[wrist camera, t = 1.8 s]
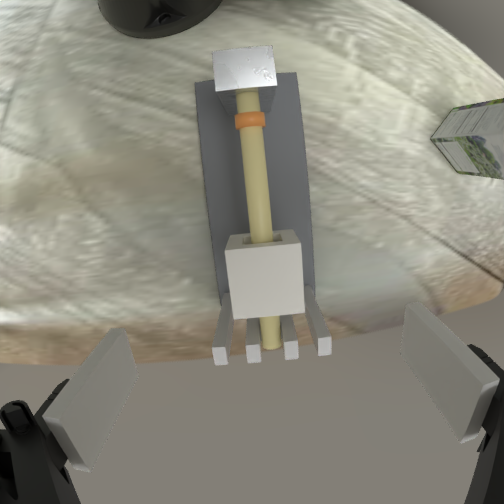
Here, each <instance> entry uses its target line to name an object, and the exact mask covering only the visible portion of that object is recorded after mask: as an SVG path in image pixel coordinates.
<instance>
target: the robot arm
mask: <svg viewBox="0 0 504 504" xmlns="http://www.w3.org/2000/svg"><path fill="white" fill-rule="evenodd" d="M221 2H222V0H98V5H99V8H100V11H101V13H102V15H103V16H104V18H105V19H106V20H107V21H108V22H109V23H110V24H111V25H112V26H113V27H115V28H116V29H117V30H118V31H120V32H122V33H124V34H126V35H129V36H133V37H138V38H158V37H164V36H169V35H172V34H176V33H179V32H181V31H184V30H186V29H188V28H190V27H192V26H194V25H196V24H197V23H199V22H201V21H202V20H203V19H205V18H206V17H207V16H209V15H210V14H211V13H212V12H213V11H214V10H215V9H216V8H217V7H218V6H219V4H220V3H221ZM400 354H401V355H402V357H403V358H404V360H405V361H406V363H407V364H408V365H409V367H410V368H411V370H412V371H413V373H414V374H415V375H416V377H417V379H418V380H419V381H420V383H421V384H422V386H423V387H424V389H425V390H426V392H427V393H428V395H429V396H430V398H431V399H432V401H433V402H434V404H435V405H436V407H437V408H438V410H439V411H440V413H441V414H442V416H443V417H444V419H445V420H446V422H447V424H448V425H449V427H450V428H451V430H452V431H453V433H454V435H455V436H456V438H457V439H458V441H459V443H460V444H461V443H463V442H466V441H468V440H471V439H474V438H476V437H477V435H478V433H479V431H480V428H481V426H482V427H483V428H484V429H485V431H486V434H485V436H484V438H483V440H482V442H481V444H480V446H479V448H478V450H477V452H480V454H479V458H478V462H477V466H476V469H475V472H474V476H473V479H472V482H471V485H470V488H469V491H468V494H467V497H466V500H465V503H464V504H504V371H503V370H502V369H501V368H500V367H499V366H498V365H497V364H496V363H495V362H493V360H492V359H491V358H490V357H488V355H487V354H486V353H485V352H484V351H483V350H482V349H480V348H478V347H476V346H474V345H472V344H470V345H465V344H464V343H463V342H462V341H461V340H460V339H459V338H458V337H457V336H456V335H455V334H454V333H453V332H452V331H451V330H450V329H449V328H447V326H446V325H445V324H443V323H442V322H441V321H440V320H439V319H438V318H437V317H436V316H435V315H434V314H433V313H432V312H431V311H429V310H428V309H427V308H426V307H425V306H424V305H423V304H422V303H421V302H414V303H408V304H406V307H405V318H404V327H403V336H402V344H401V352H400ZM138 377H139V374H138V371H137V368H136V365H135V361H134V358H133V355H132V351H131V348H130V344H129V341H128V337H127V334H126V330H125V328H111V329H110V330H109V332H108V333H107V334H106V335H105V336H104V338H103V339H102V340H101V341H100V342H99V344H98V345H97V346H96V347H95V349H94V350H93V351H92V352H91V354H90V355H89V356H88V357H87V359H86V360H85V361H84V362H83V364H82V365H81V366H80V367H79V369H78V370H77V371H76V372H75V374H74V375H73V376H72V377H71V379H66V380H65V381H63V382H62V383H60V384H59V385H58V386H57V387H56V388H55V389H54V391H53V392H52V394H51V395H50V396H49V397H48V400H46V401H45V402H44V403H43V405H42V406H41V407H40V409H39V410H38V411H37V412H36V414H35V415H34V416H33V414H32V412H31V410H30V409H29V407H28V405H27V403H26V402H24V401H20V400H16V401H11V402H9V403H7V404H6V405H4V406H3V407H2V408H1V410H0V419H1V421H2V423H3V424H4V426H5V428H6V430H5V429H4V430H1V429H0V504H81V503H80V501H79V498H78V496H77V493H76V491H75V488H74V486H73V484H72V481H71V478H70V475H69V473H68V471H67V469H66V467H65V466H64V465H65V463H66V461H67V459H68V460H69V461H70V463H71V464H72V466H73V467H74V468H75V469H78V470H82V471H87V472H91V471H92V469H93V467H94V465H95V463H96V461H97V458H98V456H99V454H100V452H101V450H102V448H103V446H104V444H105V442H106V440H107V438H108V436H109V434H110V432H111V430H112V427H113V426H114V424H115V422H116V420H117V418H118V416H119V414H120V412H121V410H122V408H123V406H124V404H125V402H126V400H127V398H128V396H129V394H130V392H131V390H132V388H133V386H134V384H135V382H136V381H137V379H138Z"/></svg>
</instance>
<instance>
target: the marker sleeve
mask: <svg viewBox="0 0 504 504" xmlns="http://www.w3.org/2000/svg"><path fill="white" fill-rule="evenodd" d="M225 258H226V266H227V274H228V281H229V289H230V296H231V304H232V311H233V318H234V319H246V318H257V317H268V316H279V315H289V314H298V313H305V304H304V284H303V266H302V250H301V242H300V241H299V239H298V237H297V236H296V234H295V232H294V231H293V229H288V230H278V231H273V242H268V243H257V244H251V235H250V233H246V234H236V235H230V237H229V240H228V243H227V245H226V248H225Z"/></svg>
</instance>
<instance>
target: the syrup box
mask: <svg viewBox="0 0 504 504" xmlns="http://www.w3.org/2000/svg"><path fill="white" fill-rule="evenodd" d="M431 140H432V142H433V143H434V144H435V145H436V146H437V147H438V149H439V150H440V151H441V152H442V153H443V155H444V156H445V157H446V158H447V160H448V161H449V162H450V163H451V165H452V166H453V167H454V169H455V170H456V171H457V172H458V173H459V174H467V175H474V176H483V177H490V178H496V179H503V180H504V98H503V99H497V100H491V101H486V102H481V103H476V104H471V105H466V106H461V107H456V108H453V110H452V111H451V112H450V114H449V115H448V116H447V118H446V119H445V120H444V122H443V123H442V124H441V126H440V127H439V128H438V130H437V131H436V132H435V134H434V135H433V136H432V138H431Z"/></svg>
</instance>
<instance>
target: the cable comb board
mask: <svg viewBox="0 0 504 504" xmlns="http://www.w3.org/2000/svg"><path fill="white" fill-rule="evenodd" d="M212 57H213V68H214V79H215V80H209V81H202V82H196V83H195V92H196V104H197V114H198V125H199V135H200V144H201V154H202V163H203V172H204V181H205V190H206V198H207V206H208V214H209V222H210V230H211V238H212V246H213V253H214V261H215V268H216V275H217V282H218V289H219V296H220V303H221V311H220V315H219V319H218V324H217V328H216V332H215V336H214V340H213V345H212V351H213V357H214V362H215V365H227V364H228V362H229V355H230V347H231V340H232V333H233V325H234V318H233V311H232V304H231V296H230V289H229V281H228V274H227V266H226V258H225V248H226V245H227V243H228V240H229V237H230V235H236V234H246V233H250V235H251V244H257V243H268V242H273V231H278V230H288V229H293V231H294V232H295V234H296V236H297V237H298V239H299V241H300V242H301V250H302V266H303V284H304V304H305V316H306V319H307V322H308V325H309V328H310V331H311V335H312V338H313V341H314V344H315V347H316V350H317V354H318V356H323V355H331V334H330V332H329V330H328V327H327V325H326V323H325V320H324V318H323V316H322V313H321V311H320V309H319V306H318V304H317V302H316V299H315V277H314V256H313V238H312V223H311V209H310V195H309V183H308V172H307V161H306V150H305V141H304V131H303V122H302V113H301V105H300V97H299V89H298V81H297V74H296V72H294V73H276V71H275V63H274V56H273V48H272V45H270V46H257V47H245V48H236V49H227V50H219V51H212ZM281 339H282V341H283V347H284V354H285V360H290V359H298V339H297V335H296V331H295V326H294V322H293V318H292V314H289V315H279V316H268V317H257V318H247V330H246V352H247V360H248V363H257V362H261V341H262V347H263V348H265V349H269V350H272V349H277V348H279V347H280V346H281V345H282V341H281Z"/></svg>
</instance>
